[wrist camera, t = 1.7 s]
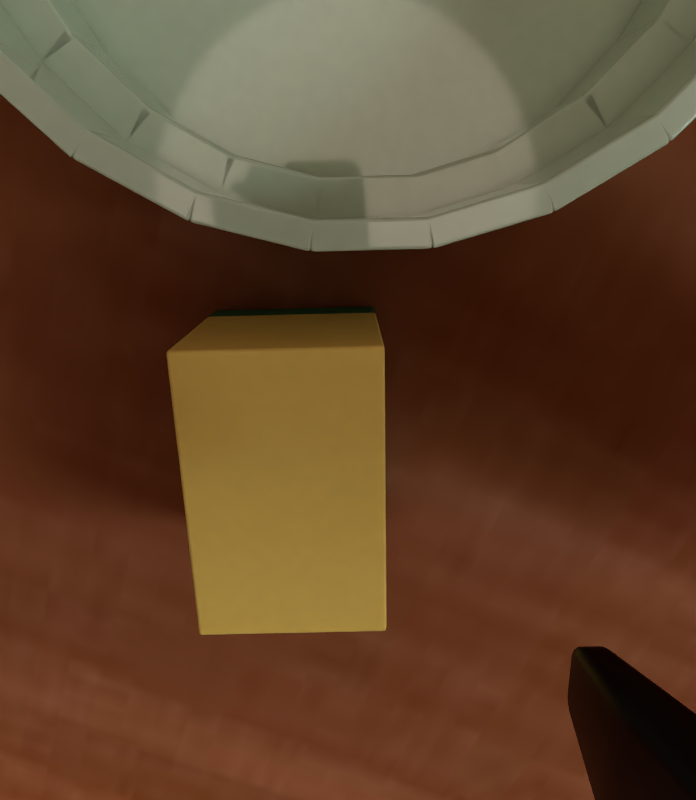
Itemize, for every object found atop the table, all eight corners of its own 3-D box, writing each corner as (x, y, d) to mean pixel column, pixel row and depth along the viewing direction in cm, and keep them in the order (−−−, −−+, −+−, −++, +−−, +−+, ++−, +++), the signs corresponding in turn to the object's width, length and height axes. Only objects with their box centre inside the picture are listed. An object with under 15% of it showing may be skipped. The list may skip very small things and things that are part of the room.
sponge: (374, 305, 17) (385, 345, 13) (376, 526, 20) (386, 632, 15) (214, 309, 17) (164, 351, 13) (234, 530, 20) (198, 636, 15)
